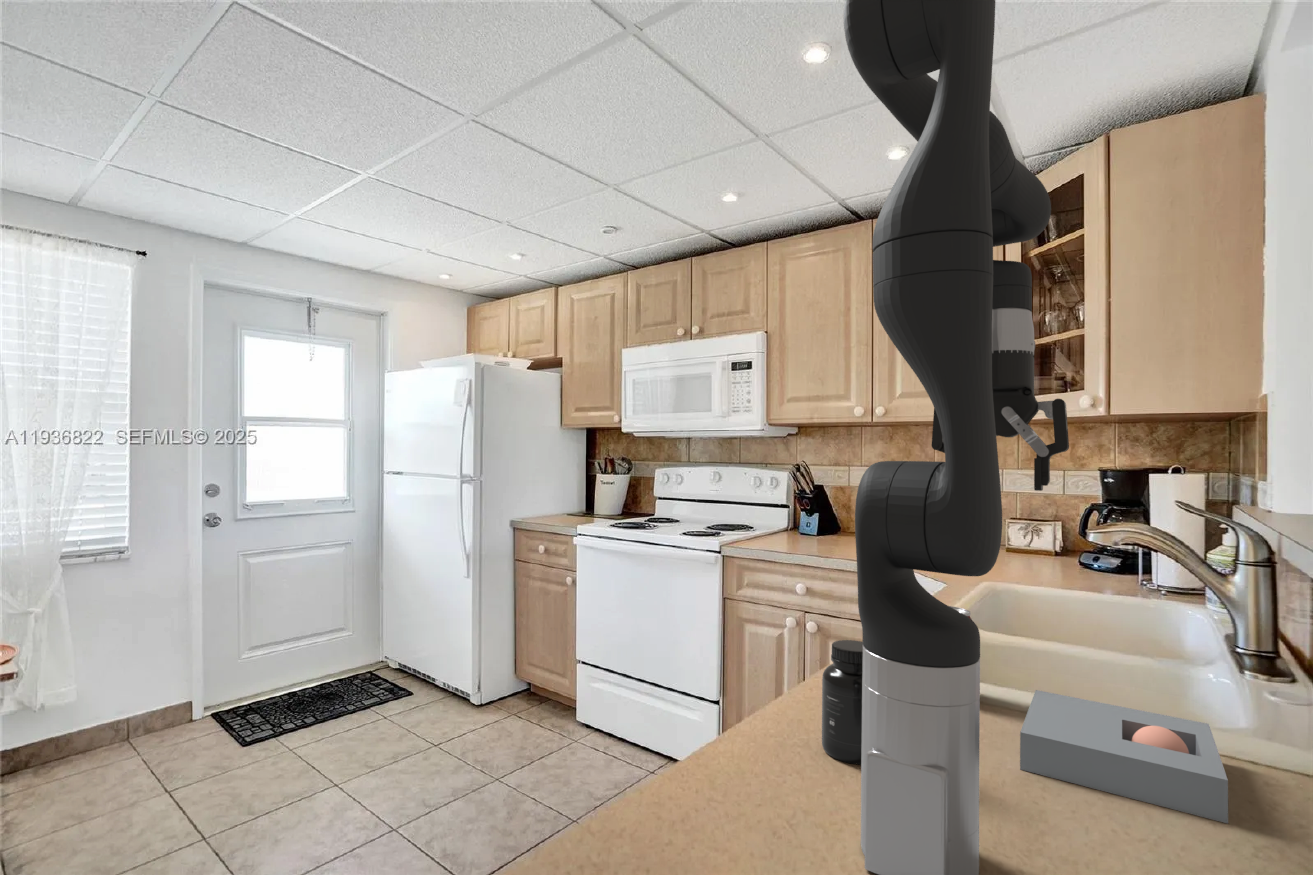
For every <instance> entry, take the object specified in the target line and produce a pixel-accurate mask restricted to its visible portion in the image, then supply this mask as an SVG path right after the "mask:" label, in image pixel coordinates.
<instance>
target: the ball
mask: <svg viewBox="0 0 1313 875" xmlns="http://www.w3.org/2000/svg"><path fill="white" fill-rule="evenodd" d="M1131 741H1132V742H1137V743H1141V744H1146V745H1151V746H1155V747H1160V748H1164V749H1169V750H1173V751H1178V752H1182V753H1187V754H1189V751H1188V748H1187V746H1186V744H1185V743H1184V741H1183V740H1182V739H1181V738H1180V737H1179V736H1178V735H1177V734H1175V733H1174V732H1172V731H1170V730H1169V729H1166V728H1164V727H1160V726H1146V727H1143V728H1141V729H1139V730H1138V731H1136V733H1135V734H1134V735H1133V737H1132V740H1131Z"/></svg>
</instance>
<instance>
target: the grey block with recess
mask: <svg viewBox="0 0 1313 875" xmlns="http://www.w3.org/2000/svg"><path fill="white" fill-rule="evenodd" d="M1146 726H1160V727H1164V728H1166V729H1169V730H1170V731H1172V732H1174V733H1175V734H1177V735H1178V736H1179V737H1180V738H1181V739H1182V740H1183V741H1184V743H1185V744H1186V746H1187V748H1188V751H1189V754H1187V753H1182V752H1178V751H1173V750H1169V749H1164V748H1160V747H1155V746H1151V745H1146V744H1141V743H1137V742H1132V741H1131V740H1132V737H1133V735H1134V734H1135V733H1136V731H1138V730H1139V729H1141V728H1143V727H1146ZM1019 736H1020V737H1019V753H1020V754H1019V756H1020V757H1019V769H1020V770H1021V771H1025V772H1029V773H1032V774H1037V775H1040V776H1043V777H1048V778H1052V779H1056V780H1058V781H1059V780H1060V781H1063V782H1068V783H1070V784H1076V785H1079V786H1082V787H1086V788H1090V789H1094V790H1098V791H1100V792H1101V791H1102V792H1106V793H1109V794H1113V795H1116V796H1121V797H1125V798H1127V799H1128V798H1129V799H1132V800H1136V801H1139V802H1144V803H1147V804H1152V805H1156V806H1159V807H1164V808H1167V809H1171V810H1174V811H1179V812H1182V813H1186V814H1190V815H1193V816H1197V817H1201V818H1204V819H1205V818H1206V819H1209V820H1213V821H1217V822H1220V823H1224V824H1229V780H1228V777H1227V776H1228V775H1227V773H1226V771H1225V768H1224V765H1223V762H1222V759H1221V756H1220V752H1219V750H1218V747H1217V744H1216V741H1215V738H1214V736H1213V732H1212V729H1211V726H1210V724H1209V723H1207V722H1206V723H1205V722H1201V721H1197V720H1196V721H1195V720H1192V719H1187V718H1181V717H1175V716H1171V715H1167V714H1166V715H1165V714H1162V713H1161V714H1160V713H1155V712H1150V711H1145V710H1140V709H1134V708H1129V707H1125V706H1119V705H1114V704H1109V703H1105V702H1099V701H1094V700H1089V699H1084V698H1080V697H1079V698H1078V697H1074V696H1070V695H1069V696H1068V695H1063V694H1058V693H1054V692H1048V691H1045V690H1044V691H1043V690H1038V689H1035V691H1034V694H1033V697H1032V699H1031V702H1030V705H1029V708H1028V710H1027V712H1026V715H1025V718H1024V721H1023V723H1022V726H1021V729H1020V734H1019Z"/></svg>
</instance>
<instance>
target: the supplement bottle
mask: <svg viewBox="0 0 1313 875" xmlns="http://www.w3.org/2000/svg"><path fill="white" fill-rule="evenodd" d="M830 660H831V662H832V663H831V664H829V665H828V666H826V668H825V669H824V670H823V672H822V677H821V678H822V680H821V685H822V686H821V746H822V748H823V750H824V752H825V753H827V755H829V756H830V757H831V758H833V759H835V760H837V761H840V762H843V763H845V764H846V763H847V764H850V765H851V764H852V765H861V747H862V673H863V643H862V641H860V640H851V639H840V640H836V641H835V640H834V642H832V644H831V654H830Z"/></svg>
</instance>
